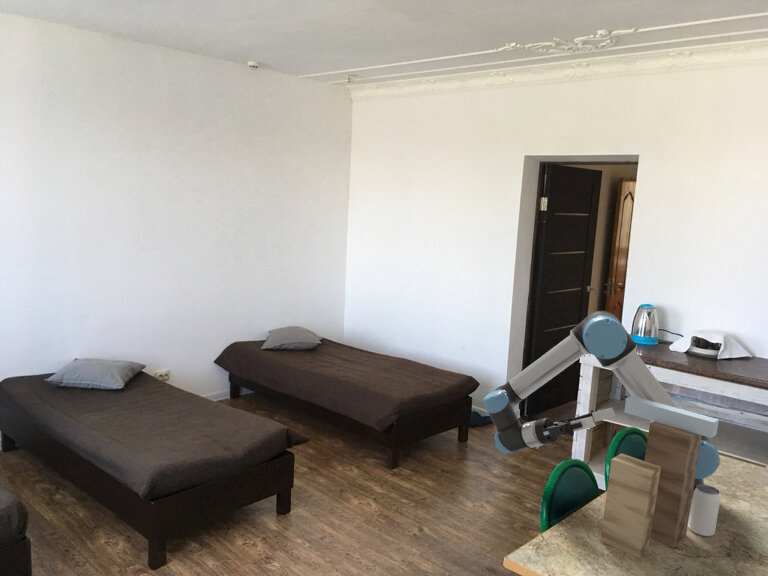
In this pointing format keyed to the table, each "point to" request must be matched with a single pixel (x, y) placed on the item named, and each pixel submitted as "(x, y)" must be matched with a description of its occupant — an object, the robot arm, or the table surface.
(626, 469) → the oak step
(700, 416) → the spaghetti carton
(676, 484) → the walnut block
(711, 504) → the can
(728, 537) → the table surface
